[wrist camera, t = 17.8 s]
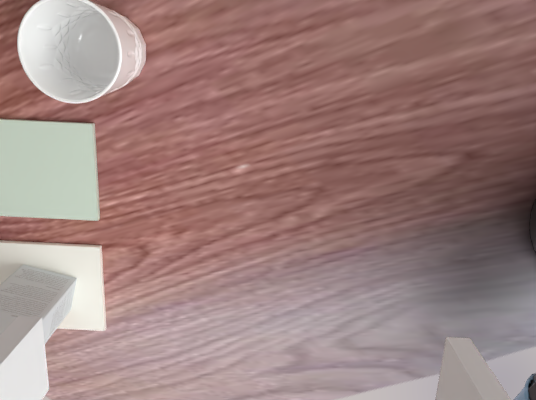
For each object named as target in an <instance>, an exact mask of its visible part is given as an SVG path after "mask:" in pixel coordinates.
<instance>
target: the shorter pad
mask: <svg viewBox="0 0 536 400" xmlns="http://www.w3.org/2000/svg"><path fill="white" fill-rule="evenodd" d="M0 216H12V217H33V218H53V219H74V220H94V221H98V220H99V219H100V209H99V191H98V174H97V156H96V139H95V123H79V122H59V121H38V120H17V119H0Z"/></svg>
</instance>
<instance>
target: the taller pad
mask: <svg viewBox="0 0 536 400" xmlns="http://www.w3.org/2000/svg"><path fill="white" fill-rule="evenodd" d="M22 265H28V266H32V267H36V268H39V269H43V270H47V271H51V272H55V273H59V274H63V275H67V276H71V277H75V278H77V281H76V286H75V291H74V296H73V301H72V308H71V310H70V312H69V313H68V314H67V316H66V317H65V318H64V319H63V321H62V322H61V323H60V325H59V326H58V327H57V329H77V330H98V331H105V329H106V314H105V296H104V279H103V261H102V245H84V244H63V243H43V242H22V241H2V240H0V284H1V283H2V282H3V281H5V280H6V279H7V278H8V277H9V276H10V275H11V274H12V273H14V272H15V271H16V270H17V269H18V268H19V267H20V266H22Z"/></svg>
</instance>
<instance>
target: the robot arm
mask: <svg viewBox="0 0 536 400" xmlns="http://www.w3.org/2000/svg"><path fill="white" fill-rule="evenodd" d="M530 236H531V241H532V244H533V247H534V250H535V252H536V200H535V202H534V205H533V208H532V212H531V217H530ZM48 390H49V382H48V372H47V362H46V352H45V342H44V332H43V323H42V317H26V316H18V317H17V318H16V319H15V320H14V321H13V322H12V323H11V324H10V325H9V326H8V327H7V328H6V330H5V331H4V332H3V333H2V334H1V335H0V400H42V399H43V397H44V396H45V394H46V393H47V391H48ZM435 400H511V399H510V398H509V396H508V394H507V393H506V391H505V390H504V389H503V387H502V385H501V384H500V383H499V381H498V379H497V378H496V376H495V375H494V373H493V372H492V371H491V369H490V368H489V366H488V365H487V363H486V362H485V360H484V359H483V357H482V356H481V354H480V353H479V351H478V350H477V348H476V347H475V345H474V344H473V342H472V341H471V339H470V338H457V337H446V341H445V347H444V353H443V358H442V364H441V370H440V376H439V382H438V388H437V393H436V399H435ZM514 400H536V374H532V375H531V376H530V377H529V378H528V379H527V381H526V384H525V387H524V388H523V389H522V391H521V392H520V393H519V394H518V395H517V396H516V398H515V399H514Z"/></svg>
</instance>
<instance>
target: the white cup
mask: <svg viewBox="0 0 536 400" xmlns="http://www.w3.org/2000/svg"><path fill="white" fill-rule="evenodd" d="M17 48H18V54H19V58H20V62H21V64H22V67H23V69H24V71H25V73H26V74H27V76H28V77H29V79H30V80H31V81H32V83H33V84H34V85H35V86H36V87H37V88H38V89H40V90H41V91H42V92H43V93H45V94H46V95H48V96H50V97H52V98H54V99H56V100H59V101H62V102H66V103H85V102H89V101H92V100H95V99H97V98H99V97H102V96H104V95H107V94H109V93H111V92H114V91H116V90H118V89H120V88H122V87H123V86H125V85H127V84H128V83H130V82H131V81H132V80H134V79H135V78H136V77H138V76H139V75H140V73H141V71H142V68H143V66H144V64H145V62H146V44H145V41H144V39H143V37H142V34H141V32H140V30H139V28H137V27H136V26H135V25H134V24H133V23H132V22H131V21H130V20H129V19H128V18H127V17H125V16H122V15H120V14H118V13H117V12H115V11H113V10H111V9H109V8H107V7H104V6H102V5H99V4H97V3H94V2H92V1H89V0H40V1H38V2H37V3H35V4H34V5H33V6H32V7H31V8H30V9H29V10H28V11H27V13H26V14H25V16H24V17H23V19H22V21H21V24H20V27H19V31H18V37H17Z"/></svg>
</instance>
